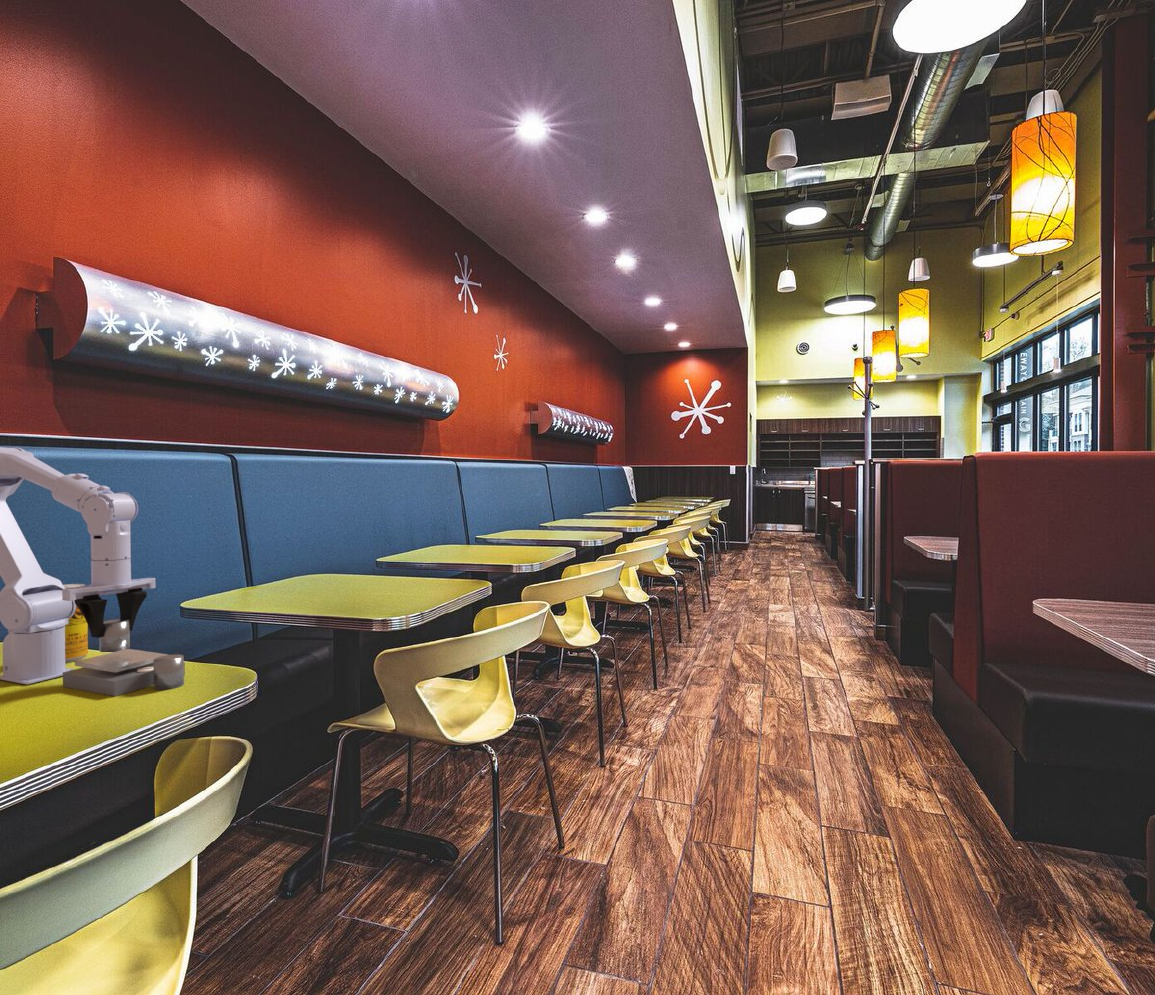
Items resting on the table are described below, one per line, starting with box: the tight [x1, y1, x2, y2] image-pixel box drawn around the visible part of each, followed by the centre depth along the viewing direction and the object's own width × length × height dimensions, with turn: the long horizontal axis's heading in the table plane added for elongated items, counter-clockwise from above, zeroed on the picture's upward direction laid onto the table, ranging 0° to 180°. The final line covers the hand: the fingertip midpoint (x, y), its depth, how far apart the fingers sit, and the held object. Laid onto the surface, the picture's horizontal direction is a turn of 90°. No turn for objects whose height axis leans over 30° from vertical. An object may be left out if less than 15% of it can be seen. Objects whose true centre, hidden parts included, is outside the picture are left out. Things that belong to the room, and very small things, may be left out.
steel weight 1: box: [98, 618, 131, 653], centre depth 110 cm, size 4×4×5 cm
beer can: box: [62, 583, 89, 664], centre depth 123 cm, size 6×6×15 cm
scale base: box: [62, 662, 186, 697], centre depth 109 cm, size 14×12×3 cm
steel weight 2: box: [153, 654, 185, 691], centre depth 106 cm, size 4×4×5 cm
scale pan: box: [74, 648, 169, 673], centre depth 109 cm, size 11×9×1 cm
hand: (112, 633), depth 110 cm, fingers closed on steel weight 1, 4 cm apart
